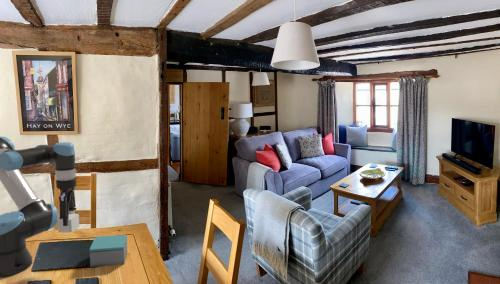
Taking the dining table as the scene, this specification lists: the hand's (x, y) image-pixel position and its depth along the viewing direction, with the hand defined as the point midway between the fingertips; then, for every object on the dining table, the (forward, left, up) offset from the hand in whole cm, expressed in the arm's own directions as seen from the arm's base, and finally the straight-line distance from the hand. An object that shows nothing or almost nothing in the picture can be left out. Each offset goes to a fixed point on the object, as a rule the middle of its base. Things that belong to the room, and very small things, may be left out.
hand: (69, 228), depth 141 cm
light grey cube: (0, 0, -1) cm, 1 cm away
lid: (+16, 0, -9) cm, 19 cm away
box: (+16, 0, -16) cm, 23 cm away
